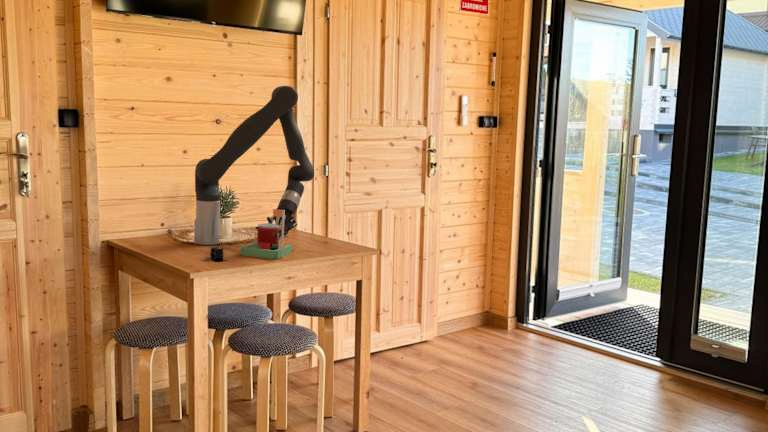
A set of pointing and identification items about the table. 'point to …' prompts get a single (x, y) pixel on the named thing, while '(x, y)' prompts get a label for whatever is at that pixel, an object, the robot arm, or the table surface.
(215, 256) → the black block
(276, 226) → the canned food
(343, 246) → the table surface
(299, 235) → the table surface
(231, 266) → the table surface
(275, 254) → the green u-shaped frame
